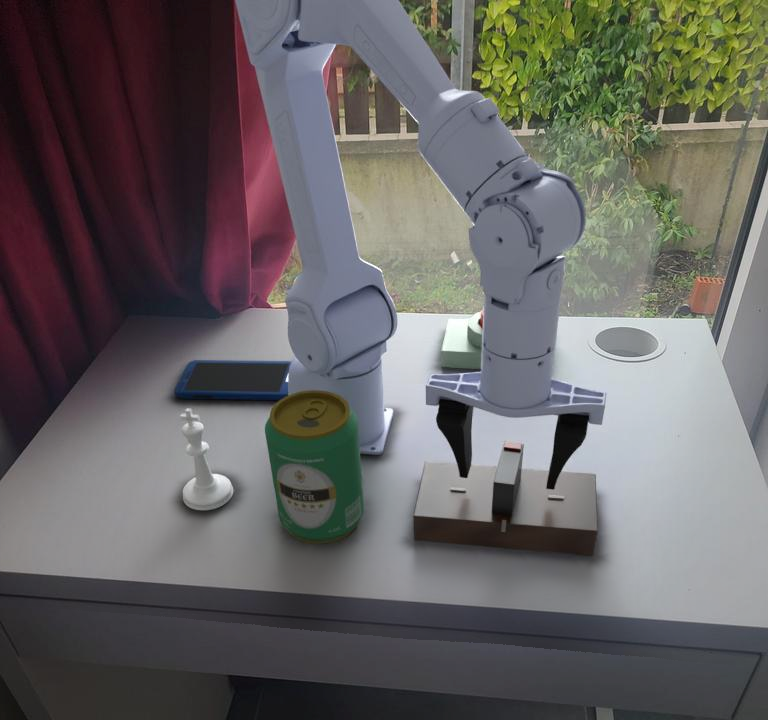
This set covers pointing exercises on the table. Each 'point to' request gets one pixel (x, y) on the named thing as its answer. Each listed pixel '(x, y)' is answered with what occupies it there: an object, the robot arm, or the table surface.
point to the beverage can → (315, 465)
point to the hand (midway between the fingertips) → (507, 476)
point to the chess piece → (202, 471)
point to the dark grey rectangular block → (507, 478)
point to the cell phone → (234, 380)
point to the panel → (521, 530)
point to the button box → (462, 343)
